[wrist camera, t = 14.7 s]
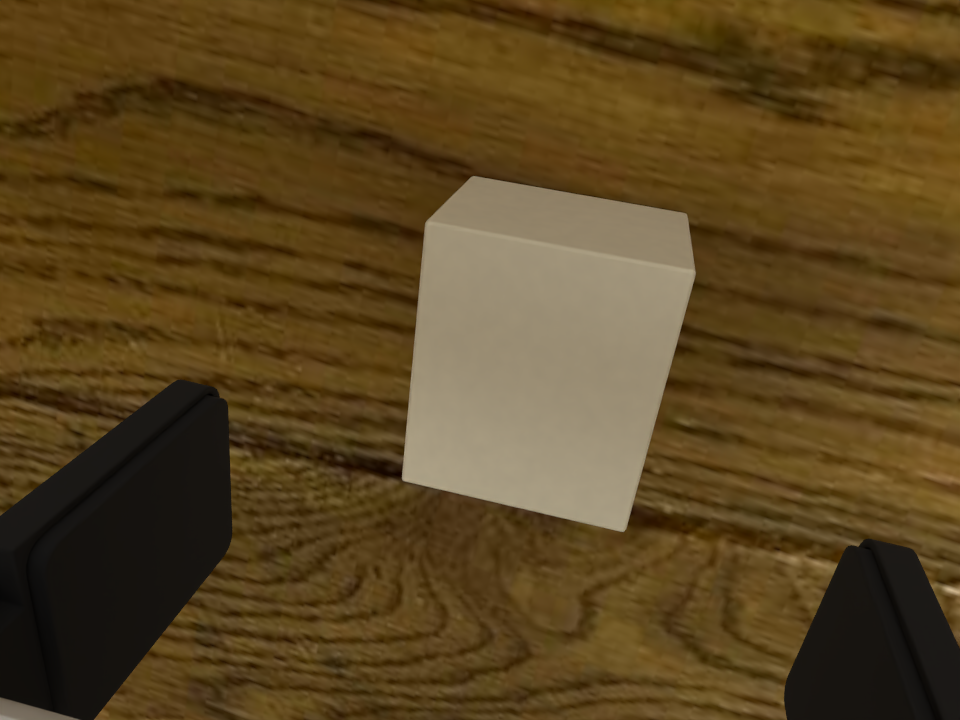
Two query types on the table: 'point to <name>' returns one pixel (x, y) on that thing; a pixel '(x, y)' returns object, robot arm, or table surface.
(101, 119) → the table surface
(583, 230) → the beige block
